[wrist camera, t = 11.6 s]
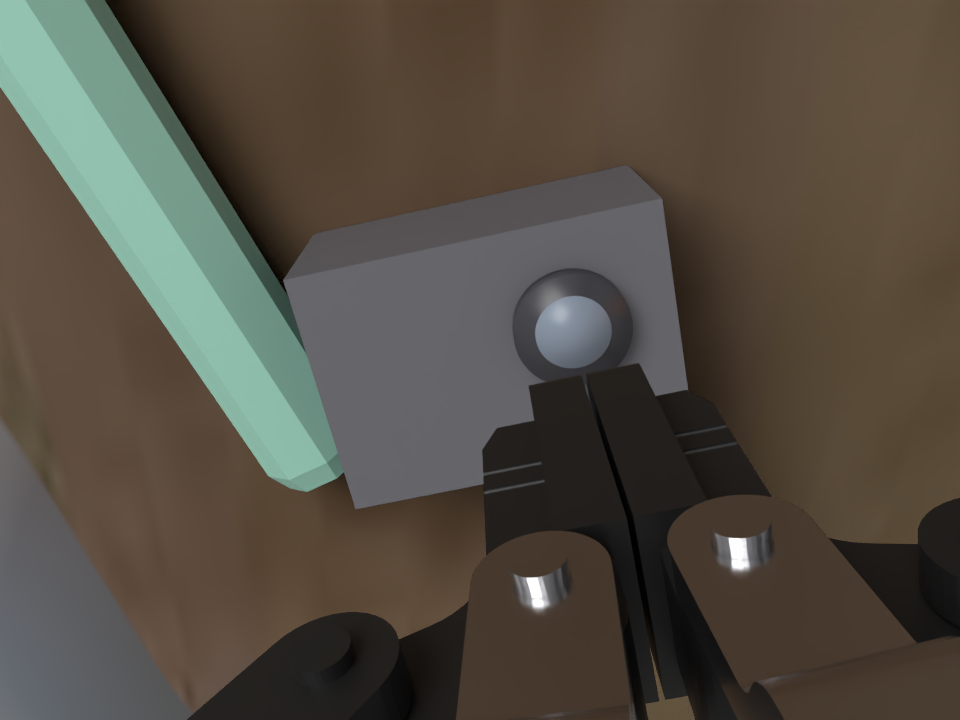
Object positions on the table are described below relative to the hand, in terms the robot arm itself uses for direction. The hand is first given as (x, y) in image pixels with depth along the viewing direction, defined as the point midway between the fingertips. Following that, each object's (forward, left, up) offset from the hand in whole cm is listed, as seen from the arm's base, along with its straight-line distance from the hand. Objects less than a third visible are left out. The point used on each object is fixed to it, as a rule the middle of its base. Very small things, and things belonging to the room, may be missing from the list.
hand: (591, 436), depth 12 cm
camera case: (+2, +7, -27) cm, 28 cm away
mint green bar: (+14, +1, -28) cm, 31 cm away
